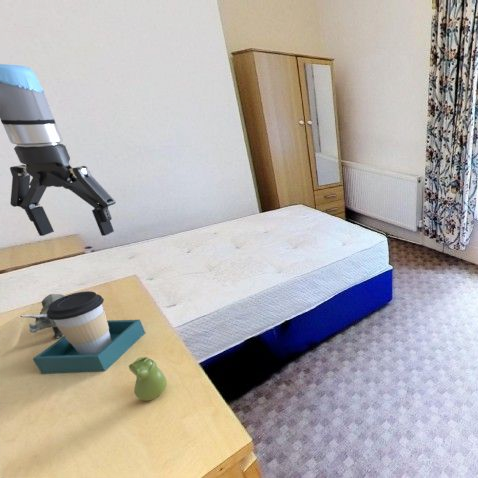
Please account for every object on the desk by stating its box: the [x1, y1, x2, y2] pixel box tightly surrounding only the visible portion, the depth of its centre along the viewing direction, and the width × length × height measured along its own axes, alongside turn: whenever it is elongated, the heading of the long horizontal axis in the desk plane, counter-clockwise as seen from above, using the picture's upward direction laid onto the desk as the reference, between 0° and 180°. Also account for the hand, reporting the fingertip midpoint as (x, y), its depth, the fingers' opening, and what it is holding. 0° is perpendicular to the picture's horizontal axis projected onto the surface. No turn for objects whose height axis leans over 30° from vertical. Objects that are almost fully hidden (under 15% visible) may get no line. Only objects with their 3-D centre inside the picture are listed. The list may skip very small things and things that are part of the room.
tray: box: [32, 319, 146, 375], centre depth 80 cm, size 14×14×5 cm
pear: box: [128, 356, 168, 402], centre depth 68 cm, size 6×5×10 cm
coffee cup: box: [47, 290, 112, 355], centre depth 78 cm, size 9×9×15 cm
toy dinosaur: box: [20, 293, 65, 340], centre depth 87 cm, size 22×8×11 cm, turn 42°
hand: (77, 233), depth 78 cm, fingers open, 13 cm apart
